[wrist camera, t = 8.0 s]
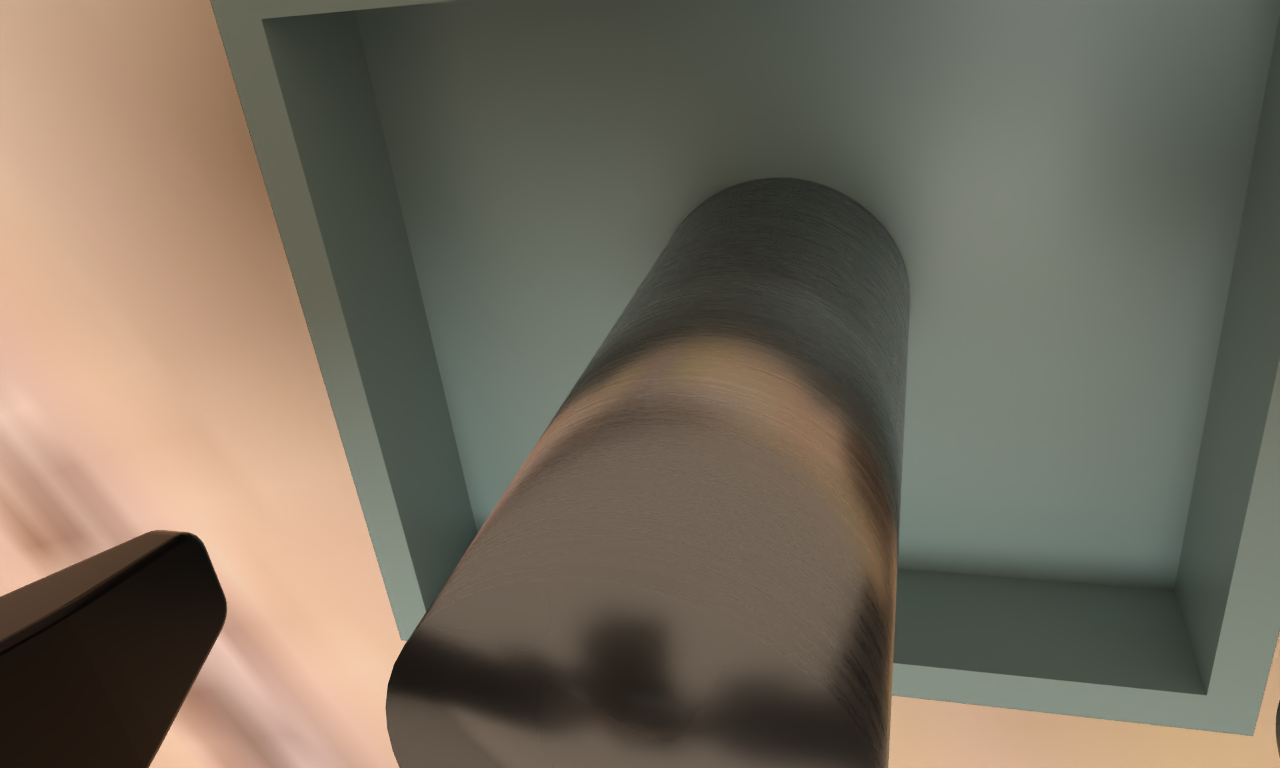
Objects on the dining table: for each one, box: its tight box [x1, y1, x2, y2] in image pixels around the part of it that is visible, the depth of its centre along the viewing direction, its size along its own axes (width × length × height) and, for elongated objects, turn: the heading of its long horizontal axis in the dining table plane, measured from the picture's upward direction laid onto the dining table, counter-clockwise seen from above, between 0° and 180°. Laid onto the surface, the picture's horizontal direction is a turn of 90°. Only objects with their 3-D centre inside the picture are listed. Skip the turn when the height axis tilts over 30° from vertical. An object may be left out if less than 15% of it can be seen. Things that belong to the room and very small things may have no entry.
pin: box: [386, 177, 910, 768], centre depth 10 cm, size 3×3×8 cm
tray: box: [210, 0, 1280, 736], centre depth 13 cm, size 10×12×3 cm
